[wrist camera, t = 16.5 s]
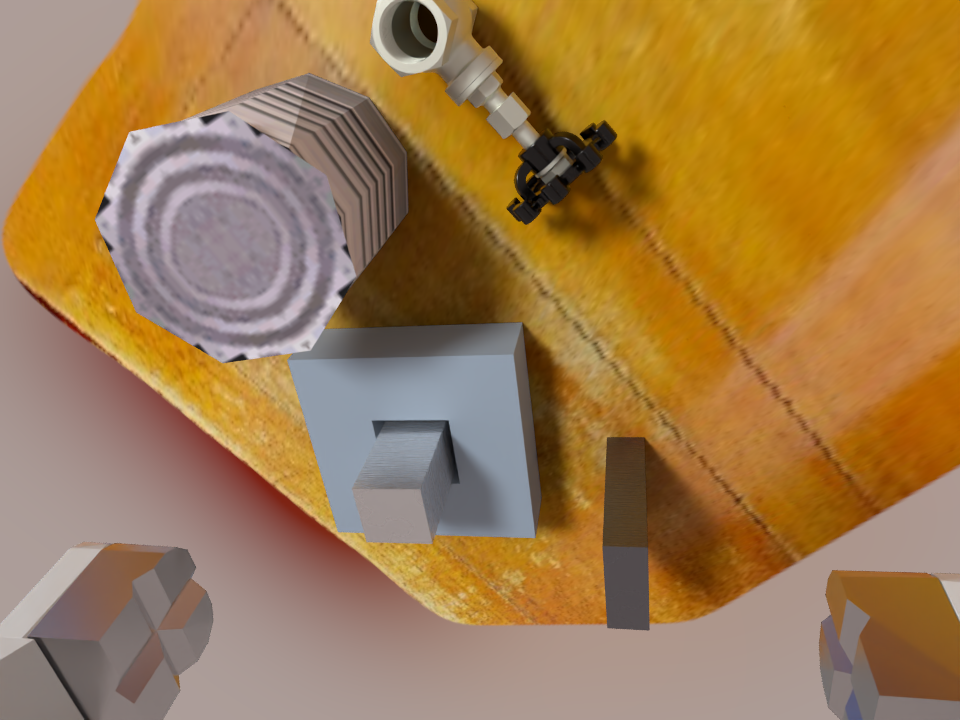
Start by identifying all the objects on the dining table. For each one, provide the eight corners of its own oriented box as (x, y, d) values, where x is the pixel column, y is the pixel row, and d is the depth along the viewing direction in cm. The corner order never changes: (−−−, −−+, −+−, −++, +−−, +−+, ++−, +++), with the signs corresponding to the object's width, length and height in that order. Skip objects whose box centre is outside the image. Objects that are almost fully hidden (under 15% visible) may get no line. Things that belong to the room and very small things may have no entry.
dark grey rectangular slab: (644, 437, 47) (647, 547, 39) (645, 513, 51) (649, 630, 42) (607, 437, 48) (602, 546, 39) (610, 512, 51) (607, 628, 43)
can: (192, 102, 41) (50, 157, 31) (372, 45, 38) (279, 86, 28) (274, 282, 46) (174, 380, 36) (438, 245, 43) (380, 342, 33)
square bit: (456, 391, 48) (420, 489, 40) (465, 440, 50) (432, 543, 42) (399, 392, 49) (351, 488, 41) (410, 440, 51) (366, 542, 42)
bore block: (522, 322, 45) (513, 354, 41) (541, 498, 51) (535, 537, 48) (311, 329, 48) (287, 360, 44) (356, 494, 54) (338, 532, 51)
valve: (371, 33, 38) (526, 201, 41) (326, 50, 32) (510, 244, 35) (458, -71, 35) (618, 120, 38) (426, -71, 29) (617, 153, 32)
